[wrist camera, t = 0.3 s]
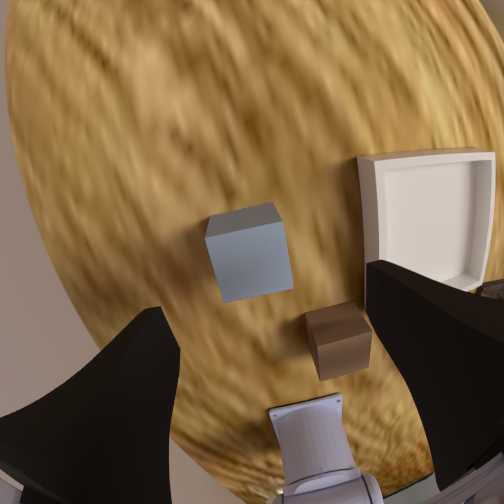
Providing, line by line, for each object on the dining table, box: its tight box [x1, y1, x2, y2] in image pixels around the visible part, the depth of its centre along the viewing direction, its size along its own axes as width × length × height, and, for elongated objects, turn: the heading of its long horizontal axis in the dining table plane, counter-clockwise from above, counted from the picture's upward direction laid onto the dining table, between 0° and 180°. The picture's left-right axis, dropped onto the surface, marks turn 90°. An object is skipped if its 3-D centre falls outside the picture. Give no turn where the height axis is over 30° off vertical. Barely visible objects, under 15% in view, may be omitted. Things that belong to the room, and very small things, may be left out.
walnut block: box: [305, 301, 372, 381], centre depth 20 cm, size 4×4×4 cm
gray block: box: [204, 202, 294, 303], centre depth 17 cm, size 4×4×4 cm
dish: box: [357, 147, 495, 309], centre depth 17 cm, size 12×12×2 cm
